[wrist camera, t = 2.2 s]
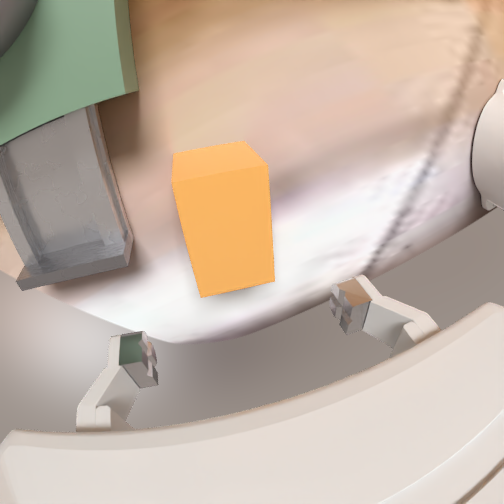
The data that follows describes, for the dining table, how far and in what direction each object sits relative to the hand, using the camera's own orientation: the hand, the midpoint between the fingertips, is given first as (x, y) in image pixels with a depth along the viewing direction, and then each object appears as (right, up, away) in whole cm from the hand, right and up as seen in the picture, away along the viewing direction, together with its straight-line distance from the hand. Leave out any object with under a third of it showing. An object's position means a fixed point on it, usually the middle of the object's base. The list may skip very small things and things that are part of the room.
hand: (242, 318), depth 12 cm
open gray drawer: (-14, +7, +5) cm, 17 cm away
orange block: (-2, +7, +10) cm, 12 cm away
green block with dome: (-15, +17, -2) cm, 23 cm away
